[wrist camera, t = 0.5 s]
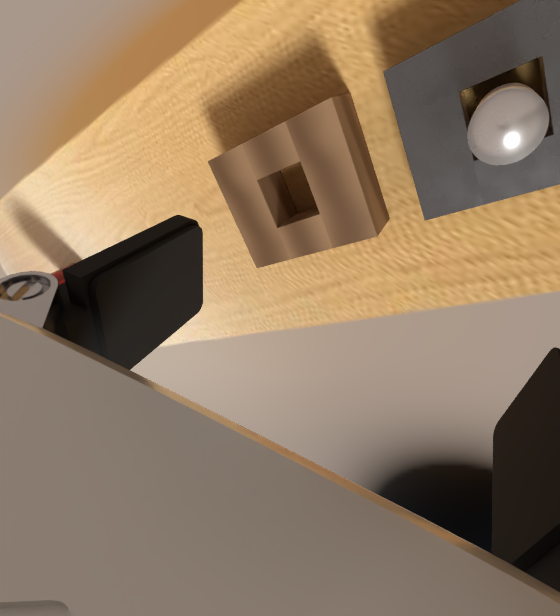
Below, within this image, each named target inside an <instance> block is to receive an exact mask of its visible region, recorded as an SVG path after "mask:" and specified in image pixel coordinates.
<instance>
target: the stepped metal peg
mask: <svg viewBox="0 0 560 616" xmlns="http://www.w3.org/2000/svg"><path fill="white" fill-rule="evenodd" d="M548 124H549V112H548V108H547V106H546V104H545V102H544V101H543V99H542V98H541V97H540V96H539V95H538V94H537V93H536V92H535V91H534V90H533V89H532V88H530V87H529V86H527V85H525V84H521V83H507V84H503V85H501V86H498V87H496V88H495V89H493V90H491V91H490V92H489V93H488V94H486V95H485V96H484V98H483V99H482V100H481V101H480V103H479V104H478V106H477V108H476V110H475V112H474V114H473V116H472V118H471V120H470V123H469V126H468V132H467V139H468V144H469V147H470V149H471V151H472V153H473V154H474V155H475V156H476V157H477V158H478V159H479V160H481V161H483V162H485V163H487V164H491V165H507V164H511V163H514V162H517V161H519V160H521V159H523V158H525V157H526V156H528V155H529V154H530V153H532V152H533V151H534V150H535V149H536V148H537V147H538V145H539V144H540V143H541V141H542V140H543V138H544V136H545V134H546V131H547V129H548Z"/></svg>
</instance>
